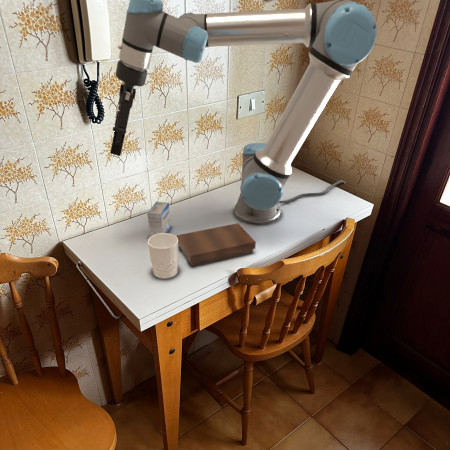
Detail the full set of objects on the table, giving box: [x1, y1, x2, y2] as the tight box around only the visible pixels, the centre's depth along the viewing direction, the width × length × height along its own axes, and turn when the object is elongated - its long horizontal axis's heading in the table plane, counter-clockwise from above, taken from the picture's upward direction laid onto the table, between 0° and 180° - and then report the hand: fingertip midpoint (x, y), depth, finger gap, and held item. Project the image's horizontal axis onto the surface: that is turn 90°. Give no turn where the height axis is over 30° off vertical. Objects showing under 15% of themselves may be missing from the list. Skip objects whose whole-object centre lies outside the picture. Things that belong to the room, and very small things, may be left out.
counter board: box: [175, 222, 257, 267], centre depth 130 cm, size 20×12×4 cm, turn 114°
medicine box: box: [147, 201, 172, 238], centre depth 136 cm, size 8×4×9 cm, turn 168°
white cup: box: [147, 232, 179, 280], centre depth 119 cm, size 8×8×10 cm
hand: (116, 144), depth 123 cm, fingers open, 13 cm apart
